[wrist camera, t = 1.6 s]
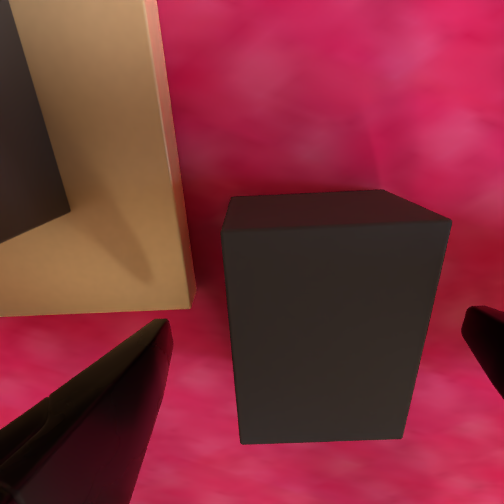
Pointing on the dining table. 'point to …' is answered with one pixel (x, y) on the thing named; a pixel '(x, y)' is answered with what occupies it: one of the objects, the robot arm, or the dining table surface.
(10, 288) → the backing board
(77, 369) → the dining table surface
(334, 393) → the dark rectangular block
